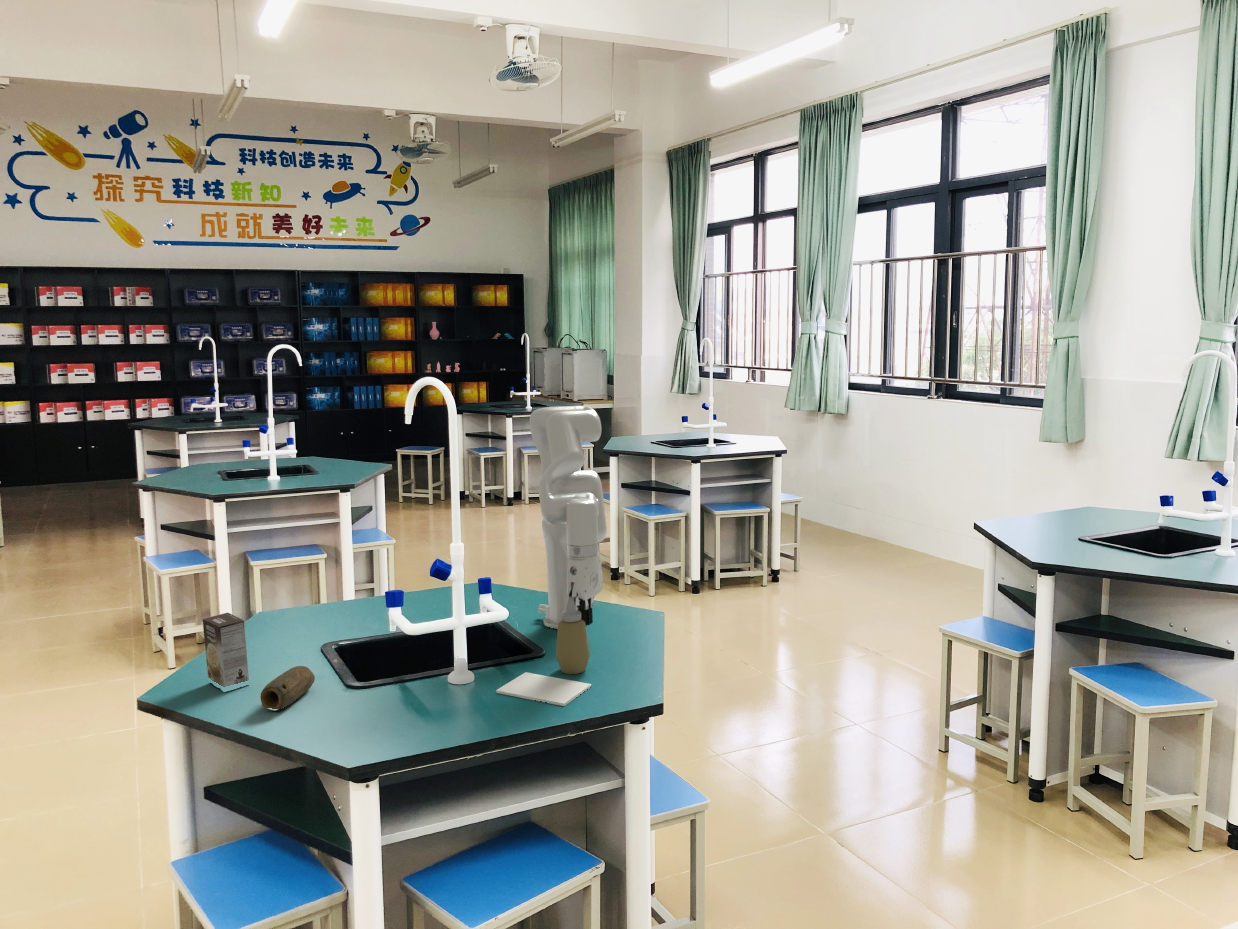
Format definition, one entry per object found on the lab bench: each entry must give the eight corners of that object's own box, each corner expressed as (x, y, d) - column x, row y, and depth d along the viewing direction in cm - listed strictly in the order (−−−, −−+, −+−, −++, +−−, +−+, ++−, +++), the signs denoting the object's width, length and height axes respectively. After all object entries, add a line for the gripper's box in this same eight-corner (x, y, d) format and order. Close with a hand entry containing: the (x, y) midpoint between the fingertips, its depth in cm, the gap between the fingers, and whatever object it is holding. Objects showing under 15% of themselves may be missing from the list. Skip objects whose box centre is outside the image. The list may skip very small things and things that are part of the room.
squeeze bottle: (595, 666, 228) (593, 594, 225) (580, 678, 221) (578, 604, 218) (566, 662, 231) (563, 591, 228) (550, 674, 224) (547, 600, 221)
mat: (496, 692, 213) (496, 690, 213) (525, 674, 224) (525, 672, 224) (564, 706, 205) (564, 703, 205) (591, 686, 216) (591, 684, 215)
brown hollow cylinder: (290, 715, 205) (288, 685, 204) (259, 714, 205) (256, 685, 204) (318, 688, 220) (316, 660, 219) (289, 687, 220) (286, 660, 219)
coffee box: (207, 683, 224) (200, 618, 221) (233, 676, 228) (227, 611, 226) (224, 693, 217) (218, 626, 215) (251, 685, 222) (245, 619, 220)
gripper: (581, 558, 219) (583, 635, 221) (611, 544, 232) (613, 616, 235) (553, 555, 222) (556, 631, 225) (584, 542, 235) (587, 613, 238)
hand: (585, 623), depth 230 cm, fingers closed
